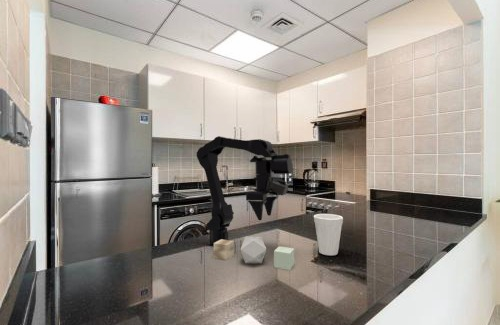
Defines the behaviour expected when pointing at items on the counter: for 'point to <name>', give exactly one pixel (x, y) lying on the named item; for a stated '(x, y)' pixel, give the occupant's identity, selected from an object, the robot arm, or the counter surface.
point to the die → (253, 250)
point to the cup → (328, 232)
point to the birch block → (223, 249)
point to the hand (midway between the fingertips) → (264, 217)
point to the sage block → (284, 258)
